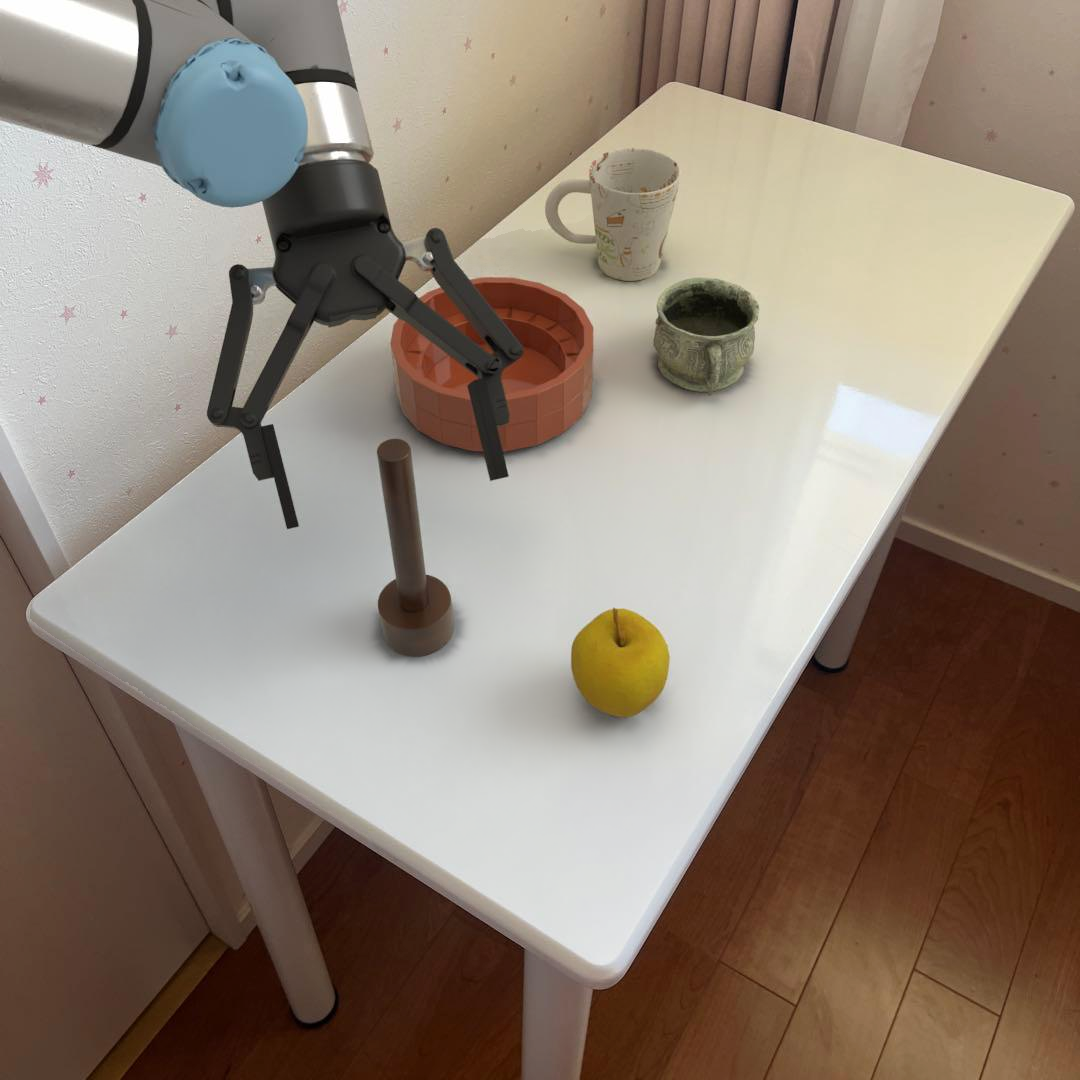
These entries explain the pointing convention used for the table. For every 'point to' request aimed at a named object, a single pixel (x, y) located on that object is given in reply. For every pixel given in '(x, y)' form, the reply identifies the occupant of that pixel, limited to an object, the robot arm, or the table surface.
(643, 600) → the table surface
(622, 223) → the mug
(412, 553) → the brown joystick
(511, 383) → the bowl
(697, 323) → the vessel
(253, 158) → the robot arm
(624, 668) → the apple
